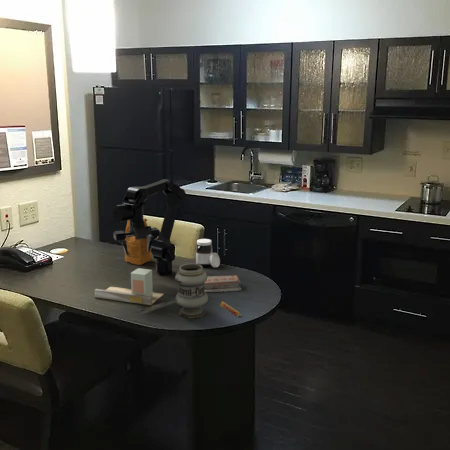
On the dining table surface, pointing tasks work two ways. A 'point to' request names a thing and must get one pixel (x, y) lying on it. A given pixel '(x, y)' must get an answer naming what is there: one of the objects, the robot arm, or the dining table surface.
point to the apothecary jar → (191, 290)
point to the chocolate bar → (230, 309)
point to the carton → (142, 282)
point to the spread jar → (206, 254)
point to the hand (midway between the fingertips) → (137, 253)
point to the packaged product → (222, 283)
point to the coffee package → (136, 248)
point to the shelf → (127, 296)
